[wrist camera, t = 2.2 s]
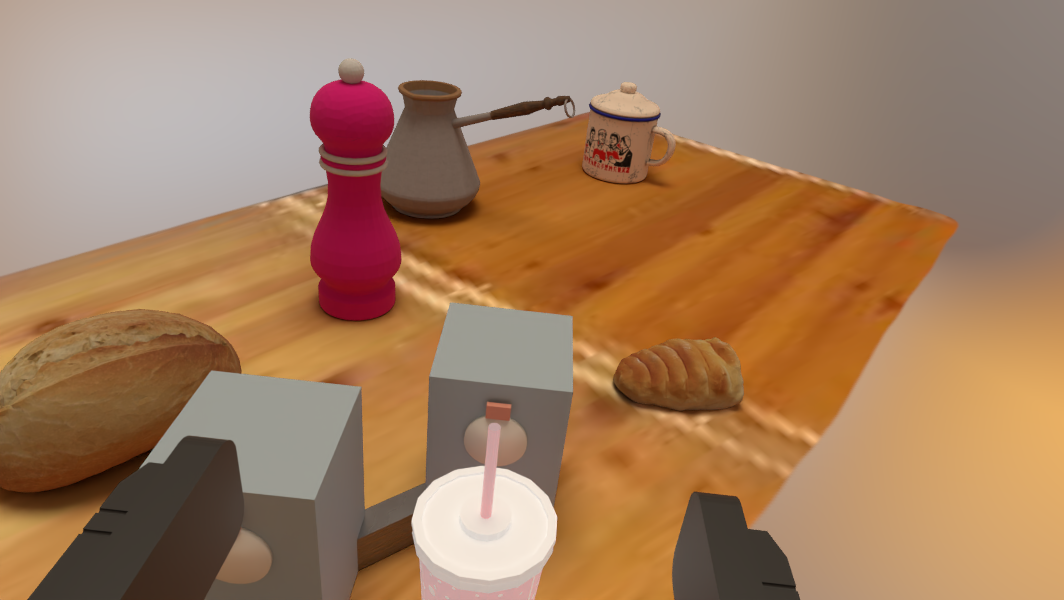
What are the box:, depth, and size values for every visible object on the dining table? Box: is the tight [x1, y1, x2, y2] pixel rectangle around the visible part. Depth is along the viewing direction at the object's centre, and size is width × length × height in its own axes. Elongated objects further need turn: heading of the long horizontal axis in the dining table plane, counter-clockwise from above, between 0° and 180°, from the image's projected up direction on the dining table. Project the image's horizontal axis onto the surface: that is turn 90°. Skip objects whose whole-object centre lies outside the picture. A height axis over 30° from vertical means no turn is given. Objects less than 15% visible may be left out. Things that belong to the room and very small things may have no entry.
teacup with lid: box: [582, 82, 675, 184], centre depth 90 cm, size 12×9×12 cm
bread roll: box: [0, 309, 241, 492], centre depth 42 cm, size 10×15×8 cm, turn 140°
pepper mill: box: [310, 59, 401, 321], centre depth 55 cm, size 7×7×20 cm
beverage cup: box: [411, 423, 557, 600], centre depth 31 cm, size 6×6×14 cm
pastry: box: [613, 337, 744, 411], centre depth 53 cm, size 9×7×4 cm
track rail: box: [357, 483, 426, 571], centre depth 38 cm, size 13×2×2 cm, turn 128°
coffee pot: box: [380, 80, 575, 218], centre depth 73 cm, size 21×12×15 cm, turn 67°
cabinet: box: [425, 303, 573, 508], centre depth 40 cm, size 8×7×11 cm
